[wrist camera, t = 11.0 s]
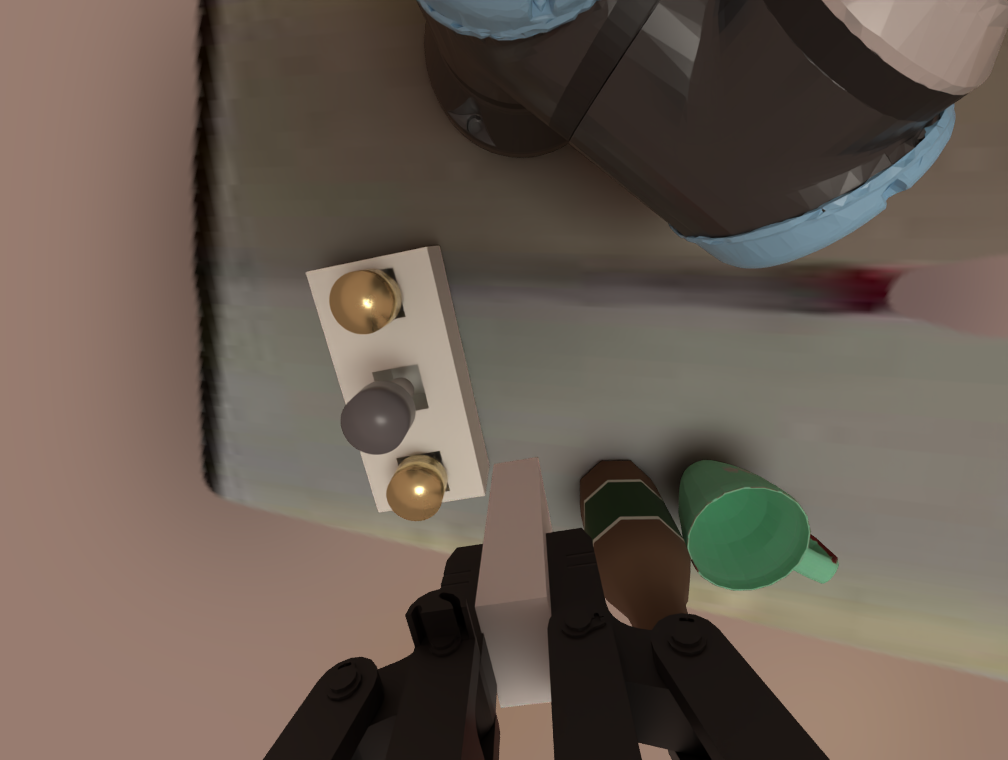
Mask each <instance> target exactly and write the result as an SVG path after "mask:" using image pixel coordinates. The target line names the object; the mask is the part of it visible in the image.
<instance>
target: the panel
mask: <svg viewBox="0 0 1008 760" xmlns="http://www.w3.org/2000/svg"><path fill="white" fill-rule="evenodd" d="M363 269H377V270H381V271H383V272H385V273H387V274H388V275H389V276H391V277H392V278H393V279H394V280H395V281H396V282H397V285H398V287H399V289H400V292H401V298H402V302H401V308H400V311H399V313H398V315H397V316H396V318H395V319H394V320H393V321H392V322H390V323H389V324H387V325H386V326H384V327H383V328H381V329H380V330H378V331H376V332H374V333H371V334H355V333H352V332H350V331H348V330H346V329H344V328H343V327H342V326H341V325H340V324H339V323H338V322H337V321H336V320H335V318H334V316H333V314H332V312H331V309H330V304H329V296H330V291H331V288H332V286H333V285H334V283H335V282H336V281H337V279H339V278H340V277H341V276H343V275H344V274H346V273H349V272H353V271H358V270H363ZM306 275H307V278H308V281H309V285H310V288H311V291H312V295H313V298H314V301H315V305H316V308H317V311H318V314H319V318H320V321H321V324H322V328H323V331H324V334H325V337H326V341H327V344H328V347H329V351H330V354H331V357H332V360H333V364H334V367H335V370H336V374H337V377H338V380H339V384H340V387H341V390H342V393H343V397H344V400H345V403H346V404H347V403H348V402H349V401H350V400H351V399H352V398H353V397H354V396H355V395H356V394H357V393H358V392H359V391H360V390H362V389H363V388H364V387H365V386H366V385H368V384H370V383H372V382H375V381H390V382H391V381H392V380H393V379H395V378H399V377H402V378H406V379H408V380H409V381H410V382H411V383H412V385H413V387H414V394H413V396H412V399H413V401H414V404H415V411H416V413H415V419H414V422H413V424H412V426H411V427H410V429H409V431H408V432H407V434H406V436H405V437H404V439H403V441H402V442H401V444H400V445H399V446H398V447H397V448H396V449H394V450H393V451H391V452H389V453H386V454H381V455H372V454H367V453H364V452H361V451H360V453H361V456H362V459H363V463H364V466H365V469H366V472H367V476H368V479H369V482H370V486H371V489H372V492H373V495H374V499H375V502H376V505H377V509H378V512H384V511H390V510H392V509H391V508H390V506H389V504H388V502H387V498H386V491H387V487H388V484H389V482H390V481H391V479H392V477H393V475H394V473H395V472H396V470H397V468H398V466H399V465H400V463H401V462H402V461H403V460H405V459H406V458H408V457H410V456H414V455H419V454H423V453H429V452H435V451H440V453H441V457H442V461H441V465H442V466H443V467H444V469H445V471H446V473H447V478H448V482H447V487H446V490H445V493H444V497H443V500H442V502H447V501H453V500H460V499H466V498H472V497H479V496H485V492H486V486H487V479H488V472H489V466H490V465H489V461H488V456H487V452H486V448H485V443H484V439H483V434H482V430H481V426H480V421H479V417H478V412H477V408H476V404H475V399H474V395H473V390H472V386H471V382H470V377H469V373H468V368H467V364H466V360H465V355H464V351H463V346H462V342H461V337H460V333H459V329H458V324H457V320H456V315H455V311H454V307H453V302H452V298H451V293H450V289H449V285H448V280H447V276H446V271H445V267H444V263H443V258H442V254H441V249H440V245H439V246H429V247H423V248H418V249H414V250H409V251H404V252H399V253H395V254H390V255H385V256H380V257H375V258H371V259H366V260H361V261H356V262H351V263H347V264H342V265H337V266H332V267H328V268H323V269H318V270H313V271H308V272H306Z"/></svg>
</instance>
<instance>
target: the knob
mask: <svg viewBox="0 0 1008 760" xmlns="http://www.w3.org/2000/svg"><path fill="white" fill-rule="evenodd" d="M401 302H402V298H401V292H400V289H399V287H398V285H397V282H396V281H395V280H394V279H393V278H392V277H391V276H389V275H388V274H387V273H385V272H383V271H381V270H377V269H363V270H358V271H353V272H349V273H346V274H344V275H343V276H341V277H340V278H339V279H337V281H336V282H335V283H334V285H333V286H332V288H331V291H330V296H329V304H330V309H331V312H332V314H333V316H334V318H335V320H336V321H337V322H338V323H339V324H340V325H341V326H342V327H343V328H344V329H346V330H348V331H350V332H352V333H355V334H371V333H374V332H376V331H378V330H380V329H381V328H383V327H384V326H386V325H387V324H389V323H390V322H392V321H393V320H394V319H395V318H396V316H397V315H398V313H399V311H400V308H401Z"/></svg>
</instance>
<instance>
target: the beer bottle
mask: <svg viewBox="0 0 1008 760" xmlns="http://www.w3.org/2000/svg"><path fill="white" fill-rule="evenodd" d="M580 509H581V517H582V522H583V527H584V531H585V532H586V533H587V534H588V535H589V536H590V537H591V538H592V543H593V547H594V552H595V556H596V561H597V565H598V570H599V574H600V579H601V583H602V588H603V592H604V597H605V598H606V600H607V601H608V602H610V603H611V604H612V605H613V606H614V607H616V608H617V609H618V610H619V611H620V612H621V613H623V614H624V615H625V616H626V617H627V618H628V619H629V621H630V623H631V624H632V626H633V627H636V628H640V629H647V630H652V629H653V627H654V626H655V625H656V623H657V622H658V621H659V620H661V619H663V618H665V617H666V616H668V615H673V614H679V613H685V614H688V612H687V609H686V604H687V602H688V595H689V583H690V563H691V557H690V554H689V552H688V549H687V546H686V544H685V541H684V539H683V538H682V536H681V534H680V532H679V530H678V528H677V526H676V524H675V522H674V520H673V519H672V517H671V515H670V513H669V511H668V509H667V507H666V505H665V503H664V501H663V499H662V498H661V496H660V494H659V492H658V490H657V488H656V486H655V485H654V483H653V482H652V480H651V479H650V478H649V477H648V476H647V475H646V474H645V473H644V472H642V471H641V470H640V469H639V468H638V467H637V466H636V465H635V464H634V463H633V462H631V461H601V462H600V463H599V464H597V465H596V466H595V467H594V468H593V469H592V470H591V471H590V472H589V473H588V474H586V475H585V476H584V477H583V478H582V479H581V480H580Z"/></svg>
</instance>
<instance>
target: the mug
mask: <svg viewBox="0 0 1008 760" xmlns="http://www.w3.org/2000/svg"><path fill="white" fill-rule="evenodd" d="M679 517H680V523H681V529H682V536H683V539H684V541H685V544H686V546H687V549H688V552H689V554H690V557H691V561H692V563H693V565H694V567H695V569H696V570H697V572H698V573H699V574H700V576H701V577H702V578H704V579H706V580H707V581H709V582H710V583H712V584H714V585H715V586H718V587H722V588H726V589H729V590H733V591H735V590H755V589H759V588H763V587H766V586H770V585H772V584H774V583H776V582H777V581H779V580H781V579H783V578H785V577H786V576H788V575H789V574H790V573H791V572H792V571H793V570H794V571H796V572H798V573H800V574H802V575H804V576H806V577H808V578H810V579H812V580H815V581H817V582H819V583H826V582H827V581H829V580H830V579H831V578H832V577H833V575H834V574H835V573H836V571H837V569H838V566H839V563H838V558H837V557H836V556H835V555H834V554H833V553H832V552H831V551H830V550H829V549H828V548H826V547H825V546H824V545H823V544H822V543H821V542H820V541H819V540H818V539H817V538H815V537H814V536H812V535H811V534H810V533H811V530H810V526H809V522H808V517H807V515H806V513H805V512H804V510H803V509H802V508H801V506H800V505H799V503H798V502H797V501H796V500H795V499H794V498H793V497H792V496H790V495H789V494H787V493H786V492H784V491H783V490H781V489H780V488H778V487H777V486H775V485H773V484H772V483H770V482H768V481H767V480H765V479H763V478H762V477H760V476H758V475H756V474H753V473H751V472H749V471H747V470H744V469H741V468H739V467H736V466H733V465H730V464H726V463H722V462H718V461H713V460H701V461H698V462H695V463H693V464H692V465H690V466H689V467H688V468H687V469H686V470H685V471H684V473H683V475H682V478H681V482H680V488H679Z"/></svg>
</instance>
